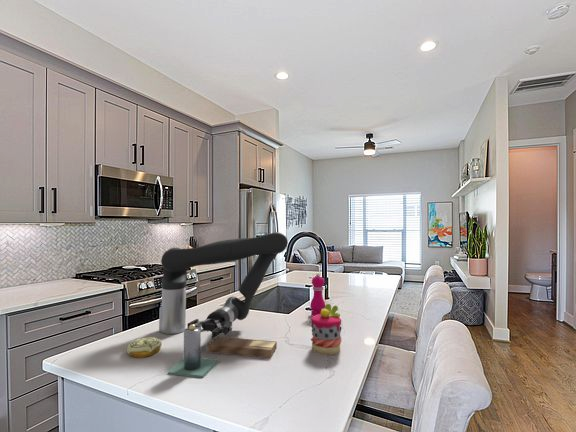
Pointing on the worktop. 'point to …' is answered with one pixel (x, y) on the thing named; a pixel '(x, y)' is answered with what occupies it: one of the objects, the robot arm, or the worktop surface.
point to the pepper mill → (317, 295)
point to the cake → (326, 331)
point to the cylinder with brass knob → (192, 348)
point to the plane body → (242, 347)
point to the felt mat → (200, 372)
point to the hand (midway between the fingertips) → (200, 333)
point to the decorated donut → (144, 347)
